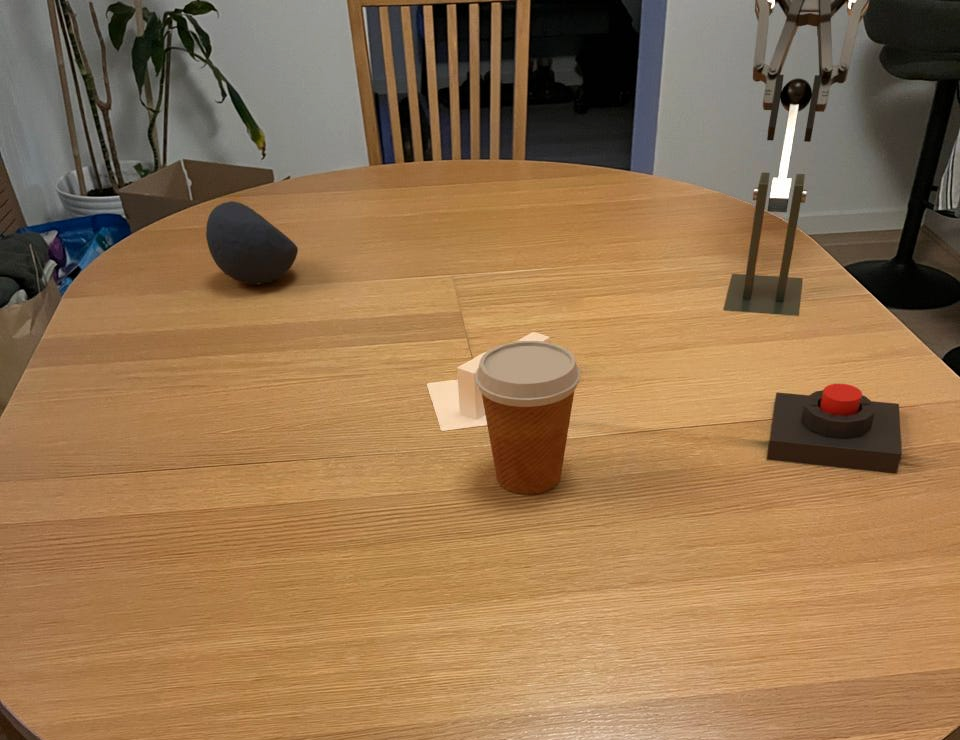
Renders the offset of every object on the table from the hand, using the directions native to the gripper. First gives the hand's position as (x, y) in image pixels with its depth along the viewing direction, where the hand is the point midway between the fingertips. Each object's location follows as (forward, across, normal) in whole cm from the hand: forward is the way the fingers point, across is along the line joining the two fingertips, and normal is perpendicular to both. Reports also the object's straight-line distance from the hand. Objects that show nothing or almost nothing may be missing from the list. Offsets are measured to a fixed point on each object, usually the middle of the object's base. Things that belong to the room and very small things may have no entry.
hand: (789, 134), depth 115 cm
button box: (+41, -9, +16) cm, 45 cm away
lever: (+2, 0, -1) cm, 2 cm away
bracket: (+18, 0, -7) cm, 19 cm away
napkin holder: (+40, +26, +14) cm, 50 cm away
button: (+38, -9, +19) cm, 44 cm away
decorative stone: (+21, +68, -4) cm, 71 cm away
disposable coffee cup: (+50, +19, +25) cm, 59 cm away
